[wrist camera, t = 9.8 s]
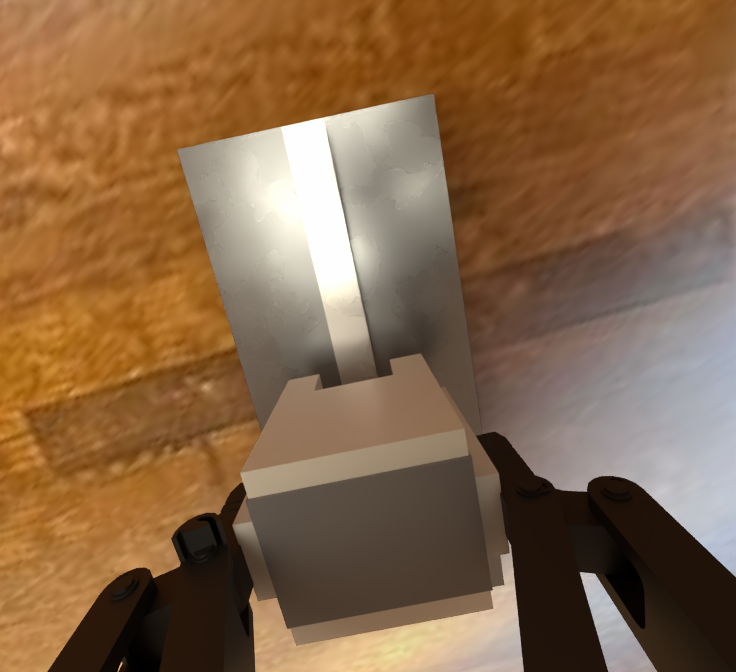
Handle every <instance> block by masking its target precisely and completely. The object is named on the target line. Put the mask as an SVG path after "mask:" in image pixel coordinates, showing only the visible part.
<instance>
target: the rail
mask: <svg viewBox="0 0 736 672" xmlns="http://www.w3.org/2000/svg"><path fill="white" fill-rule="evenodd" d="M177 151H178V154H179V158H180V161H181V164H182V168H183V171H184V174H185V178H186V181H187V184H188V188H189V191H190V194H191V198H192V201H193V204H194V208H195V211H196V214H197V218H198V221H199V224H200V228H201V231H202V234H203V238H204V241H205V244H206V248H207V251H208V254H209V258H210V261H211V264H212V268H213V271H214V274H215V278H216V281H217V284H218V288H219V291H220V294H221V298H222V301H223V304H224V308H225V311H226V315H227V318H228V321H229V325H230V328H231V331H232V335H233V338H234V341H235V345H236V348H237V351H238V355H239V358H240V361H241V365H242V368H243V371H244V375H245V378H246V381H247V385H248V388H249V391H250V395H251V398H252V401H253V405H254V408H255V411H256V415H257V418H258V421H259V425H260V428H261V431H262V430H263V428H264V426H265V425H266V423H267V421H268V419H269V417H270V415H271V413H272V411H273V409H274V407H275V406H276V404H277V402H278V400H279V398H280V396H281V394H282V392H283V390H284V388H285V387H286V385H287V383H288V381H289V380H293V379H298V378H303V377H307V376H312V375H317V374H319V375H320V379H321V383H322V387H323V389H326V388H331V387H336V386H341V385H346V384H351V383H356V382H360V381H365V380H370V379H375V378H380V377H385V376H390V375H393V374H392V369H391V364H390V359H395V358H400V357H405V356H410V355H415V354H420V353H421V355H422V356H423V358H424V360H425V362H426V363H427V365H428V367H429V368H430V370H431V372H432V374H433V375H434V377H435V379H436V380H437V382H438V384H439V385H440V387H441V388H442V387H445V388H446V390H447V391H448V393H449V394H450V396H451V398H452V399H453V401H454V402H455V404H456V406H457V407H458V409H459V410H460V412H461V414H462V415H463V417H464V418H465V420H466V422H467V423H468V425H469V426H470V428H471V430H472V431H473V433H474V434H475V436H477V435H482V427H481V420H480V413H479V406H478V399H477V392H476V385H475V378H474V371H473V364H472V357H471V350H470V343H469V336H468V329H467V322H466V315H465V308H464V301H463V294H462V287H461V280H460V274H459V267H458V260H457V253H456V246H455V239H454V232H453V225H452V218H451V211H450V204H449V197H448V190H447V183H446V176H445V169H444V162H443V155H442V148H441V141H440V134H439V127H438V120H437V113H436V107H435V100H434V94H429V95H425V96H420V97H415V98H411V99H406V100H402V101H397V102H392V103H388V104H383V105H379V106H374V107H370V108H365V109H360V110H356V111H351V112H347V113H342V114H337V115H333V116H328V117H324V118H319V119H315V120H310V121H305V122H301V123H296V124H292V125H287V126H282V127H278V128H273V129H269V130H264V131H259V132H255V133H250V134H246V135H241V136H237V137H232V138H227V139H223V140H218V141H214V142H209V143H204V144H200V145H195V146H191V147H186V148H182V149H177ZM488 564H489V570H490V576H491V583H492V587H495V586H501V585H504V580H503V573H502V566H501V559H500V555H496V556H491V557H488Z"/></svg>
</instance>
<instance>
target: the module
mask: <svg viewBox="0 0 736 672" xmlns="http://www.w3.org/2000/svg"><path fill="white" fill-rule="evenodd" d="M390 364H391V369H392V374H393V375H390V376H385V377H380V378H375V379H370V380H365V381H360V382H356V383H351V384H346V385H341V386H336V387H331V388H326V389H323V387H322V383H321V379H320V375H319V374H317V375H312V376H307V377H303V378H298V379H293V380H289V381H288V383H287V385H286V387H285V388H284V390H283V392H282V394H281V396H280V398H279V400H278V402H277V404H276V406H275V407H274V409H273V411H272V413H271V415H270V417H269V419H268V421H267V423H266V425H265V426H264V428H263V430H262V432H261V434H260V436H259V438H258V440H257V442H256V443H255V445H254V447H253V449H252V451H251V453H250V455H249V457H248V459H247V461H246V462H245V464H244V466H243V468H242V470H241V472H240V475H241V478H242V481H243V484H244V487H245V490H246V493H247V496H248V497H247V499H246V505H247V508H248V511H249V514H250V517H251V520H252V523H253V526H254V529H255V532H256V535H257V538H258V541H259V544H260V547H261V550H262V553H263V556H264V560H265V563H266V566H267V569H268V572H269V575H270V578H271V581H272V584H273V587H274V590H275V593H276V596H277V599H278V602H279V605H280V608H281V611H282V614H283V617H284V620H285V623H286V626H287V629H289V628H291V631H292V634H293V637H294V640H295V643H296V646H297V645H302V644H308V643H313V642H318V641H324V640H329V639H334V638H340V637H345V636H351V635H356V634H361V633H367V632H372V631H377V630H383V629H388V628H393V627H399V626H404V625H409V624H415V623H420V622H425V621H431V620H436V619H441V618H447V617H452V616H457V615H463V614H468V613H473V612H479V611H484V610H489V609H493V605H492V598H491V592H490V591H491V590H493V589H492V583H491V576H490V570H489V564H488V557H487V551H486V544H485V538H484V532H483V525H482V519H481V512H480V506H479V500H478V493H477V487H476V481H475V474H474V468H473V461H472V456H471V455H470V453H469V451H468V447H467V441H466V434H465V428H464V427H463V425H462V423H461V421H460V420H459V418H458V416H457V415H456V413H455V411H454V409H453V408H452V406H451V404H450V403H449V401H448V399H447V397H446V396H445V394H444V392H443V391H442V389H441V387H440V385H439V384H438V382H437V380H436V379H435V377H434V375H433V374H432V372H431V370H430V368H429V367H428V365H427V363H426V362H425V360H424V358H423V356H422V355H421V353H420V354H415V355H410V356H405V357H400V358H395V359H390Z"/></svg>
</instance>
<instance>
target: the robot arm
mask: <svg viewBox="0 0 736 672" xmlns="http://www.w3.org/2000/svg"><path fill="white" fill-rule="evenodd" d="M441 389H442V391H443V392H444V394H445V396H446V397H447V399H448V401H449V403H450V404H451V406H452V408H453V409H454V411H455V413H456V415H457V416H458V418H459V420H460V421H461V423H462V425H463V427H464V428H465V434H466V441H467V447H468V451H469V453H470V455H471V456H472V461H473V468H474V474H475V481H476V487H477V493H478V500H479V506H480V512H481V519H482V525H483V532H484V538H485V544H486V551H487V557H491V556H496V555H502V554H507V553H510V552H509V545H508V540H509V542H510V544H511V548H512V558H513V568H514V578H515V588H516V598H517V608H518V617H519V627H520V637H521V647H522V657H523V667H524V672H608V669H607V666H606V663H605V659H604V656H603V652H602V649H601V645H600V642H599V638H598V635H597V631H596V628H595V624H594V621H593V618H592V614H591V611H590V607H589V604H588V600H587V597H586V593H585V590H584V586H583V583H582V579H581V576H580V572H585V573H595V574H596V576H597V577H598V579H599V580H600V582H601V584H602V585H603V587H604V588H605V590H606V591H607V593H608V595H609V596H610V598H611V599H612V601H613V602H614V604H615V606H616V607H617V609H618V610H619V612H620V614H621V615H622V617H623V618H624V620H625V621H626V623H627V625H628V626H629V628H630V629H631V631H632V632H633V634H634V636H635V637H636V639H637V640H638V642H639V643H640V645H641V647H642V648H643V650H644V651H645V653H646V654H647V656H648V658H649V659H650V661H651V662H652V664H653V665H654V667H655V669H656V670H657V672H736V577H735V576H734V575H733V574H732V573H731V572H730V571H729V570H727V569H726V568H725V567H724V566H723V565H722V564H721V563H720V562H719V561H718V560H717V559H716V558H715V557H714V556H713V555H712V554H711V553H710V552H709V551H708V550H707V549H706V548H704V547H703V546H702V545H701V544H700V543H699V542H698V541H697V540H696V539H695V538H694V537H693V536H692V535H691V534H690V533H689V532H688V531H687V530H686V529H685V528H684V527H682V526H681V525H680V524H679V523H678V522H677V521H676V520H675V519H674V518H673V517H672V516H671V515H670V514H669V513H668V512H667V511H666V510H665V509H664V508H663V507H662V506H660V505H659V504H658V503H657V502H656V501H655V500H654V499H653V498H652V497H651V496H650V495H649V494H648V493H647V492H646V491H645V490H644V489H643V488H641V487H640V486H639V485H637V484H636V483H634V482H632V481H629V480H627V479H624V478H620V477H614V476H601V477H598V478H595V479H593V480H592V481H590V482H589V483H588V487H587V492H576V491H562V490H558V489H555V488H554V486H553V485H552V483H550V482H549V481H547V480H546V479H544V478H541V477H538V476H535V475H534V473H533V472H532V471H531V470H530V468H529V467H528V466H527V464H526V463H525V462H524V461H523V459H522V458H521V457H520V455H519V454H517V452H516V450H515V449H514V448H513V447H512V445H511V444H510V443H509V441H508V440H507V439H506V438H505V437H504V436H502V435H500V434H498V433H496V432H492V433H487V434H482V435H477V436H475V434H474V433H473V431H472V430H471V428H470V426H469V425H468V423H467V422H466V420H465V418H464V417H463V415H462V414H461V412H460V410H459V409H458V407H457V406H456V404H455V402H454V401H453V399H452V398H451V396H450V394H449V393H448V391H447V390H446V388H445V387H442V388H441ZM247 497H248V496H247V493H246V490H245V487H244V484H243V483H240V484H239V485H238V486H237V487H236V488H235V489H234V490H233V491H232V492H231V493H230V495H229V497H228V499H227V500H226V502H225V505H224V506H223V508H222V510H221V514H219V515H217V514H215V513H205V514H201V515H198V516H196V517H194V518H192V519H190V520H188V521H187V522H185V523H184V524H183V525H181V526H180V527H179V528H178V529H177V530H176V531H175V533H174V535H173V537H172V542H173V545H174V547H175V550H176V552H177V555H178V557H179V560H180V562H181V564H180V567H178V568H176V569H174V570H171V571H169V572H167V573H165V574H162V575H160V576H158V577H155V578H153V576H152V574H151V572H150V570H149V569H147V568H145V567H144V568H136V569H133V570H131V571H128V572H126V573H124V574H122V575H120V576H119V577H117V578H116V579H115V580H114V581H112V582H111V583H110V584H109V585H107V587H106V588H105V589H104V590H103V591H102V592H101V594H100V595H99V596H98V598H97V599H96V601H95V602H94V604H93V605H92V607H91V608H90V610H89V611H88V613H87V614H86V616H85V617H84V618H83V620H82V621H81V623H80V624H79V626H78V627H77V629H76V630H75V632H74V633H73V635H72V636H71V638H70V639H69V641H68V642H67V644H66V645H65V647H64V648H63V650H62V651H61V652H60V654H59V655H58V657H57V658H56V660H55V661H54V663H53V664H52V666H51V667H50V669H49V670H48V672H117V671H118V668H119V666H120V663H121V661H122V663H123V664H122V666H121V668H120V670H119V672H255V654H254V630H253V612H252V609H251V606H250V603H249V598H250V595H251V591H252V588H253V587H254V590H255V593H256V596H257V599H258V601H261V600H267V599H272V598H277V596H276V593H275V590H274V587H273V584H272V581H271V578H270V575H269V572H268V569H267V566H266V563H265V560H264V556H263V553H262V550H261V547H260V544H259V541H258V538H257V535H256V532H255V529H254V526H253V523H252V520H251V517H250V514H249V511H248V508H247V505H246V499H247Z"/></svg>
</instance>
